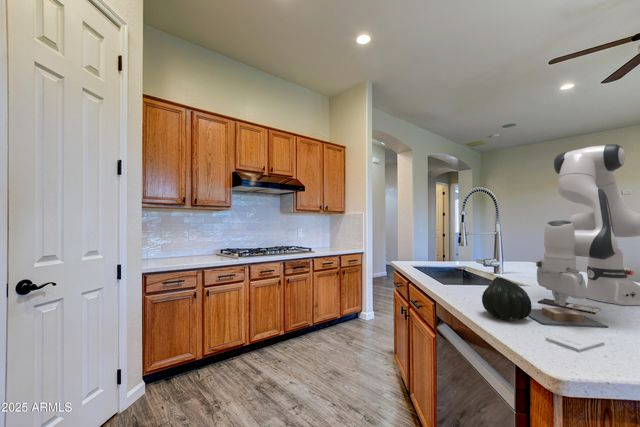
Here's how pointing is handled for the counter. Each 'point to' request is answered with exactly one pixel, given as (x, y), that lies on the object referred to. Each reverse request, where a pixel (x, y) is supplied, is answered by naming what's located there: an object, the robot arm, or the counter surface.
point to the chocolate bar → (571, 306)
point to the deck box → (562, 314)
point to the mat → (588, 322)
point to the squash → (506, 300)
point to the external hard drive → (575, 341)
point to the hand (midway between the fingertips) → (559, 304)
